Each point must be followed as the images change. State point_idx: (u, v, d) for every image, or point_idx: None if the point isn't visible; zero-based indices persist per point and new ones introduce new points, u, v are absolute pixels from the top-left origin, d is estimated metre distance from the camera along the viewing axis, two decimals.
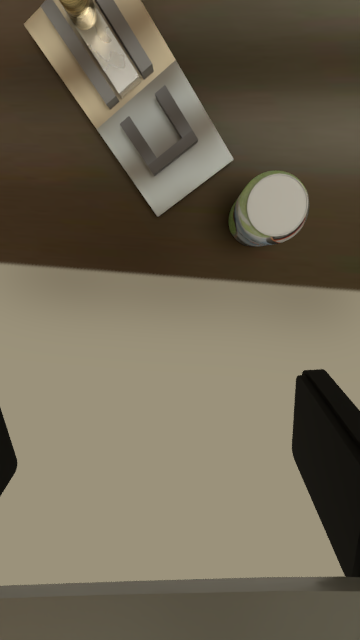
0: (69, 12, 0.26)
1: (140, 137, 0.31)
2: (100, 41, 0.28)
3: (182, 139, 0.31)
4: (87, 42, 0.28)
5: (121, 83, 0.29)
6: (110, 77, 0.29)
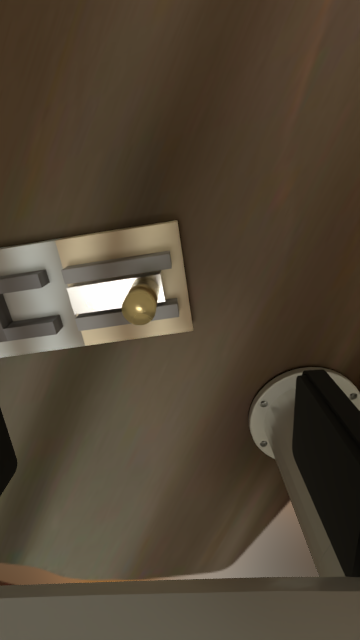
0: (131, 288, 0.24)
1: (16, 288, 0.26)
2: (116, 293, 0.27)
3: (1, 328, 0.28)
4: (121, 281, 0.26)
5: (74, 295, 0.27)
6: (83, 287, 0.26)
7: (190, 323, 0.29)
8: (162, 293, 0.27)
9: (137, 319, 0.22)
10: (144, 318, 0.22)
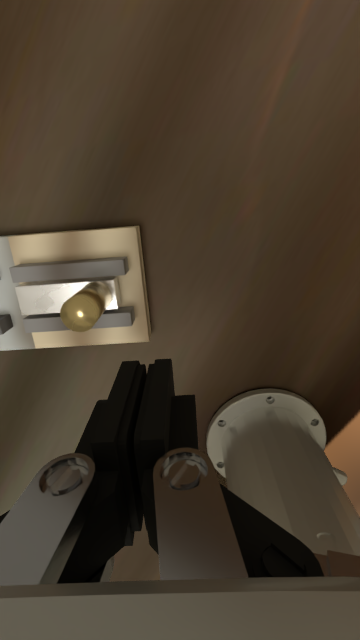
0: None
1: None
2: (67, 296, 0.25)
3: None
4: (72, 284, 0.25)
5: (22, 294, 0.25)
6: (32, 287, 0.25)
7: (146, 333, 0.28)
8: (115, 300, 0.25)
9: (76, 325, 0.21)
10: (84, 325, 0.21)
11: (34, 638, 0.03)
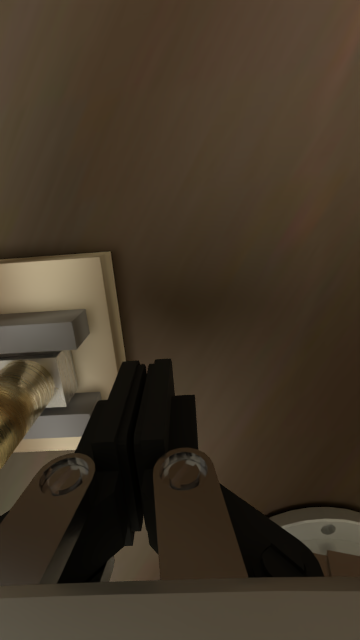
0: None
1: None
2: None
3: None
4: None
5: None
6: None
7: None
8: (61, 392, 0.14)
9: None
10: None
11: (34, 638, 0.03)
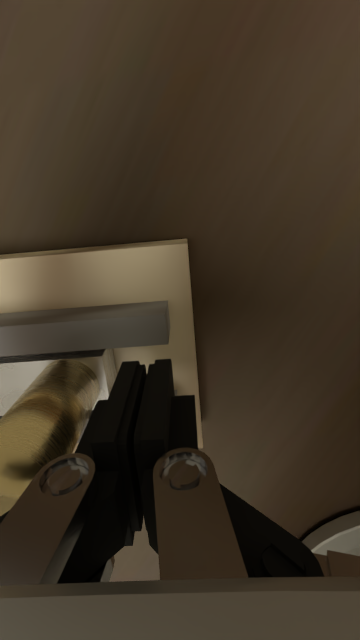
0: (15, 402, 0.10)
1: None
2: (10, 388, 0.13)
3: None
4: (19, 365, 0.12)
5: None
6: None
7: (199, 435, 0.15)
8: (106, 393, 0.13)
9: (3, 507, 0.08)
10: None
11: (34, 638, 0.03)
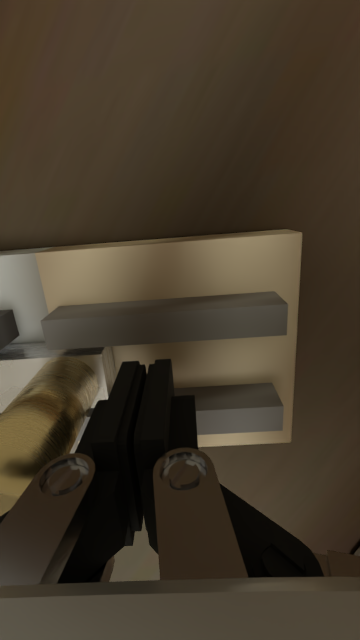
0: (13, 399, 0.10)
1: None
2: (8, 385, 0.13)
3: None
4: (17, 362, 0.12)
5: None
6: None
7: (288, 429, 0.15)
8: (104, 391, 0.13)
9: (1, 505, 0.08)
10: None
11: (34, 638, 0.03)
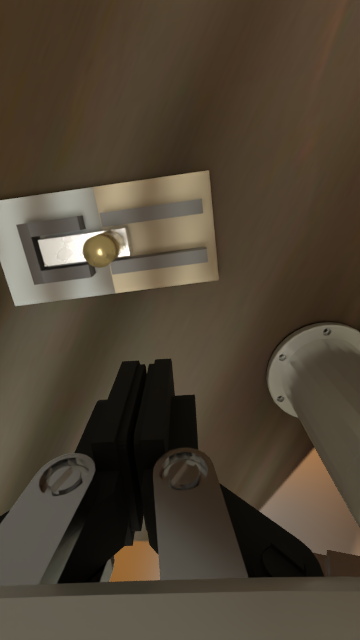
0: None
1: (56, 230, 0.28)
2: None
3: (39, 270, 0.29)
4: (88, 234, 0.28)
5: (44, 247, 0.29)
6: (53, 239, 0.28)
7: (216, 272, 0.31)
8: (127, 247, 0.29)
9: (97, 261, 0.24)
10: (103, 261, 0.24)
11: (34, 638, 0.03)
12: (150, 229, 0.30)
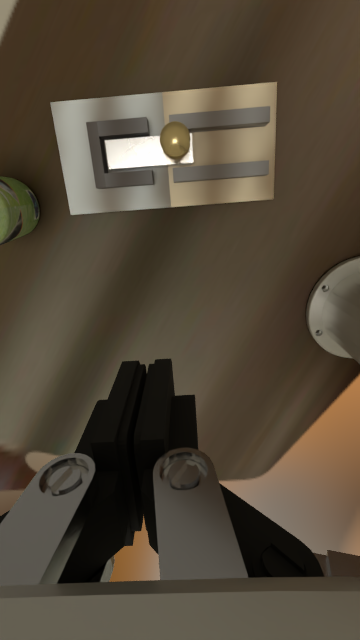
0: None
1: (124, 131, 0.28)
2: (150, 150, 0.29)
3: (102, 173, 0.30)
4: (155, 137, 0.29)
5: (111, 148, 0.29)
6: (120, 141, 0.29)
7: (272, 191, 0.32)
8: (191, 153, 0.29)
9: (172, 149, 0.25)
10: (179, 149, 0.25)
11: (34, 638, 0.03)
12: (213, 141, 0.30)
